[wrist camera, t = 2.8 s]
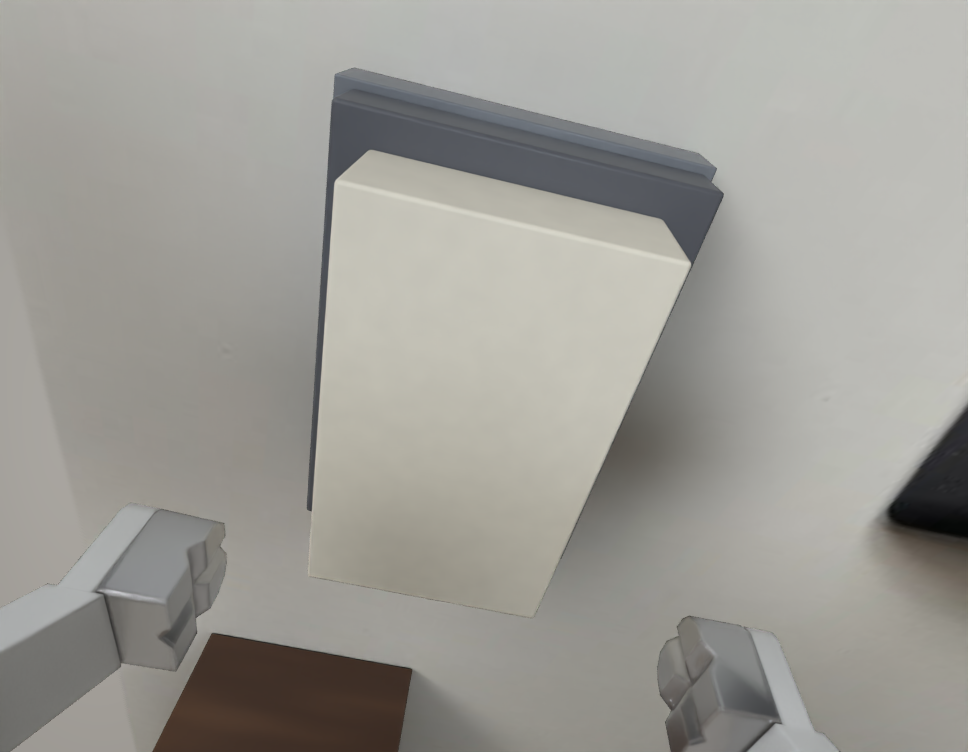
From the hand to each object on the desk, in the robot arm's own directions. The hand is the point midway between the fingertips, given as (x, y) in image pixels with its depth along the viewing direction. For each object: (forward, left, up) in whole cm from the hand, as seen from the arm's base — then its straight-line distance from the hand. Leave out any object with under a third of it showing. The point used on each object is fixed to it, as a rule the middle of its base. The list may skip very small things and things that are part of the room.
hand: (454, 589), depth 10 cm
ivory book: (0, 0, -6) cm, 6 cm away
